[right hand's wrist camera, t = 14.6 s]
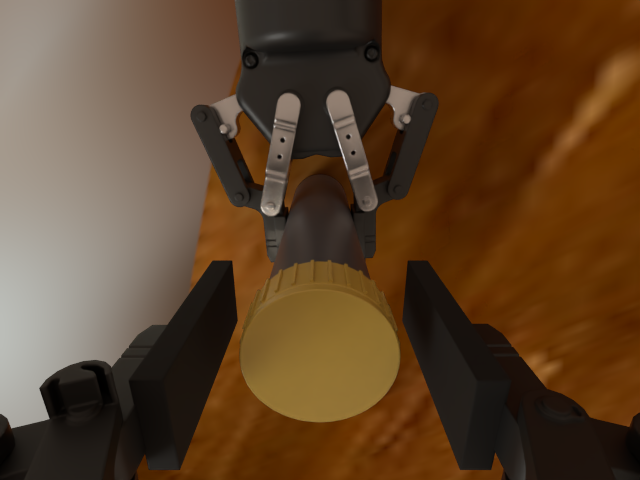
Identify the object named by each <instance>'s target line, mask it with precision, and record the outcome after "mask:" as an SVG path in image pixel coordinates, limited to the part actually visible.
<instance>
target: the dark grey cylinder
mask: <svg viewBox="0 0 640 480" xmlns="http://www.w3.org/2000/svg"><path fill="white" fill-rule="evenodd" d="M311 260H314V262H317V261H321V262H328V260H331V262H332V263H338V264H341V265H344V264H348V267H350V268H352V269H355V270H356V271H358V272H359V270H361V271H362V272H363V275H364V276H366V277H367V278H368V279H370V276H369V273H368V270H367V266H366V263H365V259H364V256H363V252H362V249H361V246H360V242H359V239H358V235H357V232H356V229H355V225H354V222H353V218H352V215H351V212H350V208H349V205H348V201H347V198H346V195H345V192H344V189H343V187H342V186H341V184H340V183H339V182H338V181H337V180H336V179H334V178H332V177H330V176H327V175H323V174H318V175H312V176H310V177H308V178H306V179H304V180H303V181H302V182H301V183H300V184H299V186H298V187H297V189H296V191H295V195H294V198H293V202H292V205H291V208H290V212H289V215H288V219H287V222H286V225H285V229H284V232H283V235H282V239H281V242H280V246H279V249H278V252H277V256H276V259H275V263H274V266H273V269H272V273H271V276H270V279H272V278H273V277H274V276H275V275H277V274H278V273H279V270H281V269H282V270H285V269H287V268H290V267H292V266H294V264H295V263H298V264H302V263H307V262H311Z"/></svg>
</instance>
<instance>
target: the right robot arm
mask: <svg viewBox="0 0 640 480" xmlns="http://www.w3.org/2000/svg"><path fill="white" fill-rule="evenodd" d="M237 321H238V319H237V308H236V298H235V287H234V276H233V265H232V261H212V262H211V264H210V265H209V267H208V268H207V269H206V271H205V272H204V274H203V275H202V277H201V278H200V279H199V281H198V282H197V284H196V285H195V287H194V288H193V289H192V291H191V292H190V294H189V295H188V297H187V298H186V299H185V301H184V302H183V304H182V305H181V306H180V308H179V309H178V311H177V312H176V314H175V315H174V316H173V318H172V319H171V321H170V322H169V324H168V325H152V326H150V327H149V328H147V329H146V330H144V331H143V332H141V333H140V334H139V335H138V336H137V337H136V338H135V339H134V340H133V342H132V343H131V344H130V345H129V348H127V349H126V351H125V352H124V353H123V354H122V356H121V358H119V359H118V360H117V362H116V363H115V364H114V365H113V367H112V368H111V366H110V365H109V364H107V363H106V362H104V361H98V360H91V361H83V362H79V363H76V364H72V365H70V366H67V367H65V368H63V369H61V370H59V371H57V372H56V373H55V374H53V375H52V376H50V377H49V378H48V379H46V381H45V382H44V383H43V384H42V386H41V387H40V388H39V389H40V392H41V395H42V398H43V400H44V404H45V406H46V409H47V412H48V415H49V418H50V419H49V420H45V421H41V422H37V423H33V424H29V425H25V426H20V427H16V428H12V429H11V427H10V425H9V422H8V419H7V418H6V417H4V416H3V415H2V414H0V480H138V475H137V471H136V470H137V468H138V466H139V464H140V462H141V460H142V458H143V456H144V454H145V455H146V459H147V464H148V468H149V470H180V468H181V465H182V463H183V460H184V458H185V455H186V453H187V450H188V447H189V445H190V442H191V440H192V437H193V435H194V432H195V429H196V427H197V424H198V422H199V419H200V416H201V414H202V411H203V409H204V406H205V404H206V401H207V398H208V396H209V393H210V391H211V388H212V386H213V383H214V380H215V378H216V375H217V373H218V370H219V368H220V365H221V362H222V360H223V357H224V355H225V352H226V349H227V347H228V344H229V342H230V339H231V337H232V334H233V331H234V329H235V326H236V324H237ZM402 321H403V324H404V326H405V329H406V331H407V334H408V337H409V339H410V342H411V344H412V347H413V349H414V352H415V355H416V357H417V360H418V362H419V365H420V368H421V370H422V373H423V375H424V378H425V380H426V383H427V386H428V388H429V391H430V393H431V396H432V398H433V401H434V404H435V406H436V409H437V411H438V414H439V416H440V419H441V422H442V424H443V427H444V429H445V432H446V435H447V437H448V440H449V442H450V445H451V447H452V450H453V453H454V455H455V458H456V460H457V463H458V465H459V468H460V470H491V468H492V464H493V459H494V455H495V453H496V454H497V456H498V458H499V460H500V462H501V464H502V466H503V468H504V471H503V475H502V479H501V480H640V413H638V414H637V415H635V416H634V417H633V419H632V422H631V424H630V427H627V426H622V425H618V424H614V423H610V422H605V421H601V420H597V419H593V418H590V417H589V416H588V414H587V413H586V411H585V410H584V409H583V408H582V407H581V406H580V405H578V404H577V403H576V402H575V401H574V400H572V399H570V398H568V397H566V396H565V395H563V394H561V393H558V392H555V391H552V390H549V389H547V388H546V387H545V386H544V385H543V383H542V382H541V381H540V380H539V379H538V377H537V376H536V375H535V374H534V372H533V371H532V370H531V369H530V367H529V366H528V365H527V364H526V362H525V361H524V360H523V359H522V358H521V357H519V354H518V353H517V351H516V350H515V349H514V348H513V347H511V344H510V343H509V341H508V340H507V339H506V338H505V337H504V335H503V334H502V333H501V332H499V331H498V330H496V329H495V328H493V327H492V326H490V325H489V324H472V323H471V322H470V321H469V319H468V318H467V316H466V315H465V313H464V312H463V311H462V309H461V308H460V306H459V305H458V304H457V302H456V301H455V299H454V298H453V296H452V295H451V294H450V292H449V291H448V289H447V288H446V287H445V285H444V284H443V282H442V281H441V279H440V278H439V277H438V275H437V274H436V272H435V271H434V269H433V268H432V267H431V265H430V264H429V262H428V261H408V265H407V276H406V287H405V298H404V308H403V319H402Z"/></svg>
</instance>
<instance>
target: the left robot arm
mask: <svg viewBox="0 0 640 480" xmlns="http://www.w3.org/2000/svg"><path fill="white" fill-rule="evenodd" d="M235 7H236V15H237V24H238V33H239V42H240V51H241V60H242V70H241V76H240V79H239V82H238V84H237V87H236V94H235V95H233V96H230V97H228V98H226V99H223V100H221V101H218V102H216V103H214V104H211V105H197V106H195V107H194V108H193V109H192V111H191V120H192V122H193V124H194V126H195V128H196V130H197V132H198V135H199V137H200V139H201V141H202V143H203V145H204V147H205V149H206V151H207V154H208V156H209V158H210V160H211V162H212V164H213V166H214V168H215V170H216V172H217V175H218V177H219V179H220V181H221V183H222V185H223V187H224V189H225V191H226V193H227V196H228V198H229V200H230V202H231V203H232V204H233V205H234V206H237V207H243V206H246V207H249V208H253V209H256V210H257V211H259V212H260V213H261V215H262V216H263V220H264V228H265V238H266V246H267V255H268V257H269V259H270V261H271V262H275V259H276V256H277V252H278V249H279V246H280V242H281V239H282V235H283V232H284V229H285V225H286V222H287V219H288V215H289V211H288V207H285V205H284V199H285V194H286V189H287V184H288V179H289V175H290V171H291V166H292V161H293V159H303V158H306V157H309V156H312V155H316V154H318V155H323V156H327V157H342V159H343V162H344V165H345V168H346V171H347V174H348V177H349V181H350V184H351V187H352V190H353V193H354V204H351V215H352V218H353V222H354V225H355V229H356V232H357V235H358V239H359V242H360V246H361V249H362V252H363V256H364V259H365V258H373V255H374V253H375V251H376V211H377V208H378V207H379V206H380V205H381V204H382V203H384V202H387V201H389V200H392V199H396V200H399V199H402V198H404V197H405V196H406V195H407V193H408V191H409V188H410V185H411V182H412V179H413V177H414V174H415V171H416V168H417V165H418V162H419V160H420V157H421V154H422V151H423V148H424V145H425V143H426V140H427V137H428V134H429V131H430V129H431V126H432V123H433V120H434V117H435V114H436V112H437V109H438V104H439V102H438V99H437V97H436V96H435V95H434V94H432V93H415V92H412V91H408V90H405V89H401V88H398V87H395V86H391V82H390V79H389V76H388V75H387V73H386V71H385V68H384V66H383V62H382V54H381V40H382V0H235ZM385 104H387V105H388V106H389V108H390V110H391V118H390V120H391V124H392V125H393V127H395V128H397V129H398V130H397V133H396V137H395V140H394V143H393V146H392V149H391V152H390V155H389V158H388V161H387V164H386V167H385V171H384V174H383V176H382V177H380V178H377V179H375V180H373V181H372V178H371V175H370V171H369V165H368V162H367V159H366V155H365V152H364V148H363V145H362V142H361V139H362V138H363V136H364V135H365V133H366V132H367V130H368V129H369V127H370V126H371V124H372V123H373V121H374V120H375V118H376V117H377V115H378V114H379V112H380V111H381V109H382V108H383V106H384V105H385ZM242 112H244V113H245V114H246V115H247V117H248V118H249V119H250V120H251V121H252V123H253V124H254V125H255V126H256V127H257V129H258V130H259V131H260V132H261V133H262V135H263V136H264V137H265V138H266V139H267V141H268V142H269V143H270V150H269V155H268V161H267V166H266V173H265V175H266V177H265V183H264V186H262V185H259V184H256V183H254V181H253V178H252V176H251V174H250V172H249V169H248V167H247V165H246V163H245V160H244V158H243V156H242V154H241V151H240V149H239V147H238V145H237V142H236V140H235V137H237V136H238V135H239V133H240V129H241V128H240V123H239V118H240V115H241V114H242Z"/></svg>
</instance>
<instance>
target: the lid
mask: <svg viewBox="0 0 640 480" xmlns="http://www.w3.org/2000/svg"><path fill="white" fill-rule="evenodd" d="M242 329H244V331H243V334H242V336H241V339H240V352H239V357H240V366H241V371H242V373H243V376H244V379H245V381H246V383H247V384H248V386H249V388H250V389H251V390H252V392H253V393H254V394H255V395H256V396H257V397H258V399H259V400H260V401H262V402H263V403H264V404H265V405H267V406H268V407H270V408H271V409H273V410H274V411H276V412H278V413H280V414H283V415H285V416H288V417H291V418H294V419H298V420H302V421H309V422H331V421H337V420H342V419H346V418H349V417H352V416H355V415H357V414H360V413H362V412H363V411H365V410H367V409H369V408H370V407H372V406H373V405H375V404H376V403H377V402H378V401H379V400H380V399H381V398H382V397H383V396H384V395H385V394H386V393H387V392H388V390H389V389H390V387H391V386H392V384H393V382H394V380H395V378H396V376H397V373H398V369H399V365H400V341H399V339H398V336H397V333H396V331H398V329H397V326H396V323H395V320H394V317H393V314H392V312H391V309H390V306H389V304H387V301H386V298H385V295H384V293H383V291H382V292H380V291H379V290H378V288H377V287H376V284H375V281H374V280H370V279H368V278H367V277H366V276H364V275H363V272H362V271H361V270H359V272H358V271H356V270H355V269H352V268H350V267H348V264H344V265H341V264H338V263H332V262H331V260H328V262H321V261H317V262H314V260H311V262H307V263H302V264H298V263H295V264H294V266H292V267H290V268H287V269H285V270H282V269H281V270H279V273H278V274H277V275H275V276H274V277H273V278H272V279H269V278H268V279H267V280H266V283H265V285H264V287H263V288H262V289H261V291H260V290H258V291H257V293H256V296H255V299H254V301H253V303H251V305H250V308H249V311H248V314H247V317H246V320H245V322H244V325H243V328H242Z"/></svg>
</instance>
